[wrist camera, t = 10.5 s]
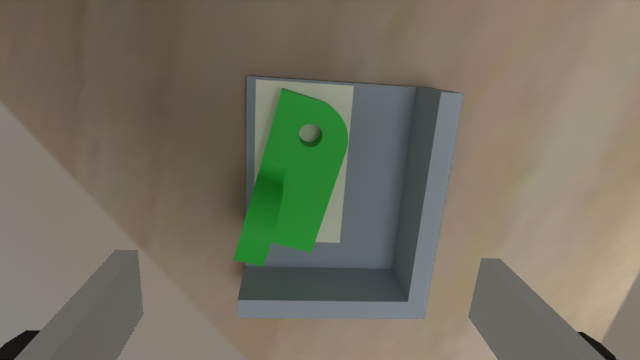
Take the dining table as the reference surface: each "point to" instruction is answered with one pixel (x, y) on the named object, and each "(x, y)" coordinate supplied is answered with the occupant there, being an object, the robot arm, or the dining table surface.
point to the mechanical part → (293, 178)
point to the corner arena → (359, 203)
